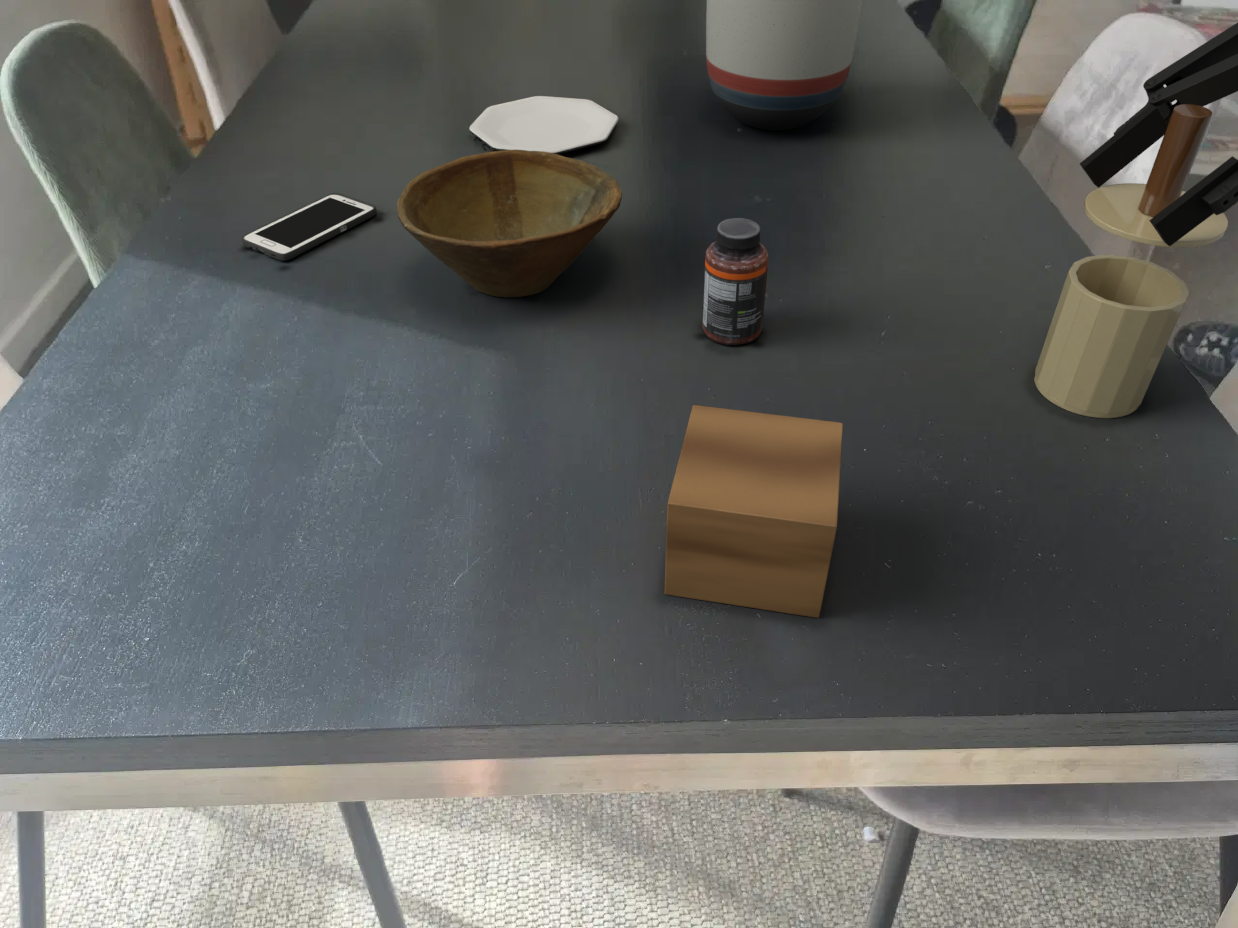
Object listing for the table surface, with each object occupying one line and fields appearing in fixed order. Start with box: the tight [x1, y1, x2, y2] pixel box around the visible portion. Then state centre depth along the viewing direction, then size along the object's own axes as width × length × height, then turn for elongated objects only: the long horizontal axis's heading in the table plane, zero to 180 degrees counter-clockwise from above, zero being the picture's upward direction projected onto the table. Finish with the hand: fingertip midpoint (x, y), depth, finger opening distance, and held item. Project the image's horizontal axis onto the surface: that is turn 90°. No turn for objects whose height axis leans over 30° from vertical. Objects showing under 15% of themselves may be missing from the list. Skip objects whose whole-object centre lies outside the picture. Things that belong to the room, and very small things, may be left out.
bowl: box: [395, 149, 623, 298], centre depth 100 cm, size 22×23×10 cm
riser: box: [664, 404, 844, 619], centre depth 68 cm, size 11×11×9 cm
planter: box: [705, 0, 864, 131], centre depth 129 cm, size 20×20×21 cm
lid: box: [1083, 104, 1229, 249], centre depth 73 cm, size 10×10×8 cm
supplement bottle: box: [701, 217, 769, 346], centre depth 91 cm, size 6×6×11 cm
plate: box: [469, 95, 620, 155], centre depth 133 cm, size 20×20×2 cm
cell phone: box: [241, 192, 378, 262], centre depth 111 cm, size 8×15×1 cm, turn 145°
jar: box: [1033, 254, 1190, 419], centre depth 83 cm, size 9×9×11 cm
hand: (1122, 203), depth 75 cm, fingers closed on lid, 10 cm apart
